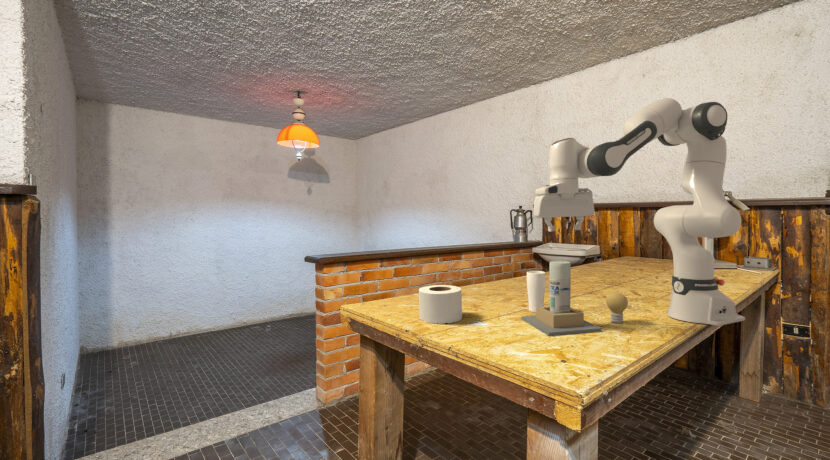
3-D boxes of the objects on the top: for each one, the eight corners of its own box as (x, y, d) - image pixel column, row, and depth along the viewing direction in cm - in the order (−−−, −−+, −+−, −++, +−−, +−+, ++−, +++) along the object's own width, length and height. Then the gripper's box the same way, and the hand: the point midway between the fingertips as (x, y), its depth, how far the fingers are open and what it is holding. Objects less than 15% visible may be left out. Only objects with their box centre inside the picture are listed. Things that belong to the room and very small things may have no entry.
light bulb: (631, 324, 120) (632, 294, 119) (612, 325, 120) (612, 295, 119) (620, 319, 126) (620, 290, 126) (602, 319, 126) (602, 291, 126)
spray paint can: (545, 320, 124) (545, 261, 123) (562, 318, 125) (562, 260, 124) (556, 325, 117) (556, 263, 116) (574, 324, 119) (574, 262, 118)
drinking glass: (549, 312, 137) (549, 272, 136) (536, 314, 134) (536, 274, 133) (535, 308, 143) (535, 270, 142) (522, 310, 140) (522, 271, 139)
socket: (567, 315, 132) (567, 301, 132) (601, 331, 114) (601, 315, 114) (521, 319, 129) (521, 305, 128) (549, 335, 111) (549, 319, 111)
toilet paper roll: (410, 318, 133) (410, 288, 133) (439, 309, 143) (439, 282, 143) (441, 327, 122) (440, 295, 121) (470, 317, 132) (470, 288, 132)
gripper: (585, 188, 125) (586, 228, 126) (530, 190, 121) (531, 231, 122) (598, 187, 119) (598, 229, 120) (540, 188, 115) (541, 232, 116)
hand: (564, 230), depth 121 cm, fingers open, 8 cm apart
